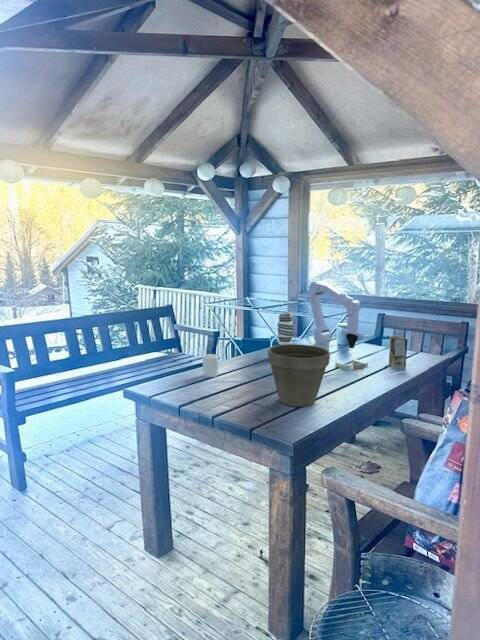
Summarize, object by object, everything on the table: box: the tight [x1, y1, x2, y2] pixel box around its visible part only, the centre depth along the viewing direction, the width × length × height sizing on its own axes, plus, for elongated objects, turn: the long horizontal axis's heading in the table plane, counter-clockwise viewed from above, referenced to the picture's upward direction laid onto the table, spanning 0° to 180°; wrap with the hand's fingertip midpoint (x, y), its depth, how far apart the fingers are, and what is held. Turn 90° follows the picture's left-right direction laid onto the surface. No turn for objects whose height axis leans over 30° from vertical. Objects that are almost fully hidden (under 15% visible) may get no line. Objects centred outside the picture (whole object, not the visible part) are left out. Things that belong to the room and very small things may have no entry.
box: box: [335, 358, 369, 371], centre depth 241 cm, size 9×15×2 cm, turn 121°
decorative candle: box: [277, 312, 294, 345], centre depth 266 cm, size 9×9×25 cm
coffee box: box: [388, 335, 408, 370], centre depth 240 cm, size 9×6×16 cm
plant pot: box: [267, 343, 331, 408], centre depth 187 cm, size 25×25×22 cm
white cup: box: [201, 353, 219, 378], centre depth 226 cm, size 8×8×10 cm
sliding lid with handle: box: [352, 363, 367, 375], centre depth 234 cm, size 9×10×4 cm
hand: (351, 348), depth 245 cm, fingers closed
